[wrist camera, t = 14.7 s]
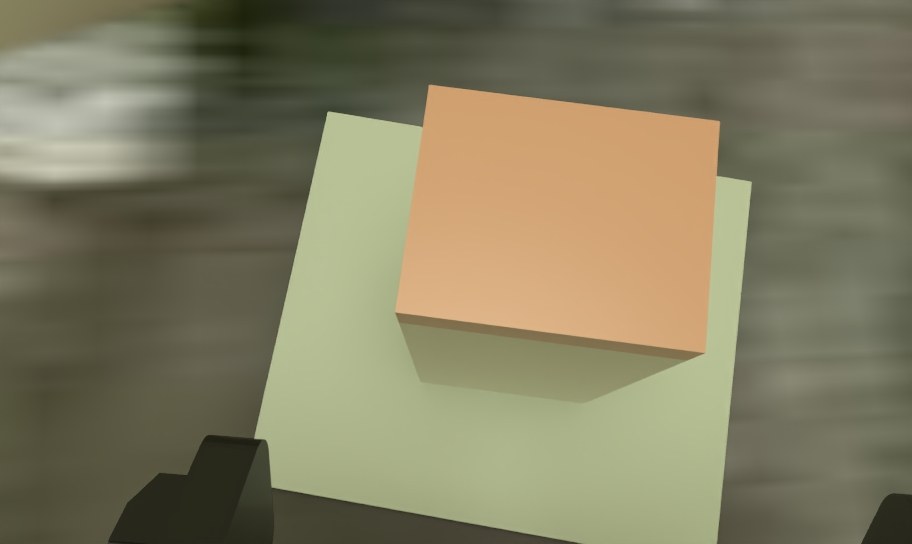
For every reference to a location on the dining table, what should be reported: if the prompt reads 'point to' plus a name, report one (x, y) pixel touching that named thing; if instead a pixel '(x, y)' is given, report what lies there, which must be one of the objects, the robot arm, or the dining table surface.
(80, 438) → the dining table surface
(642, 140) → the plug
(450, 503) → the mat
